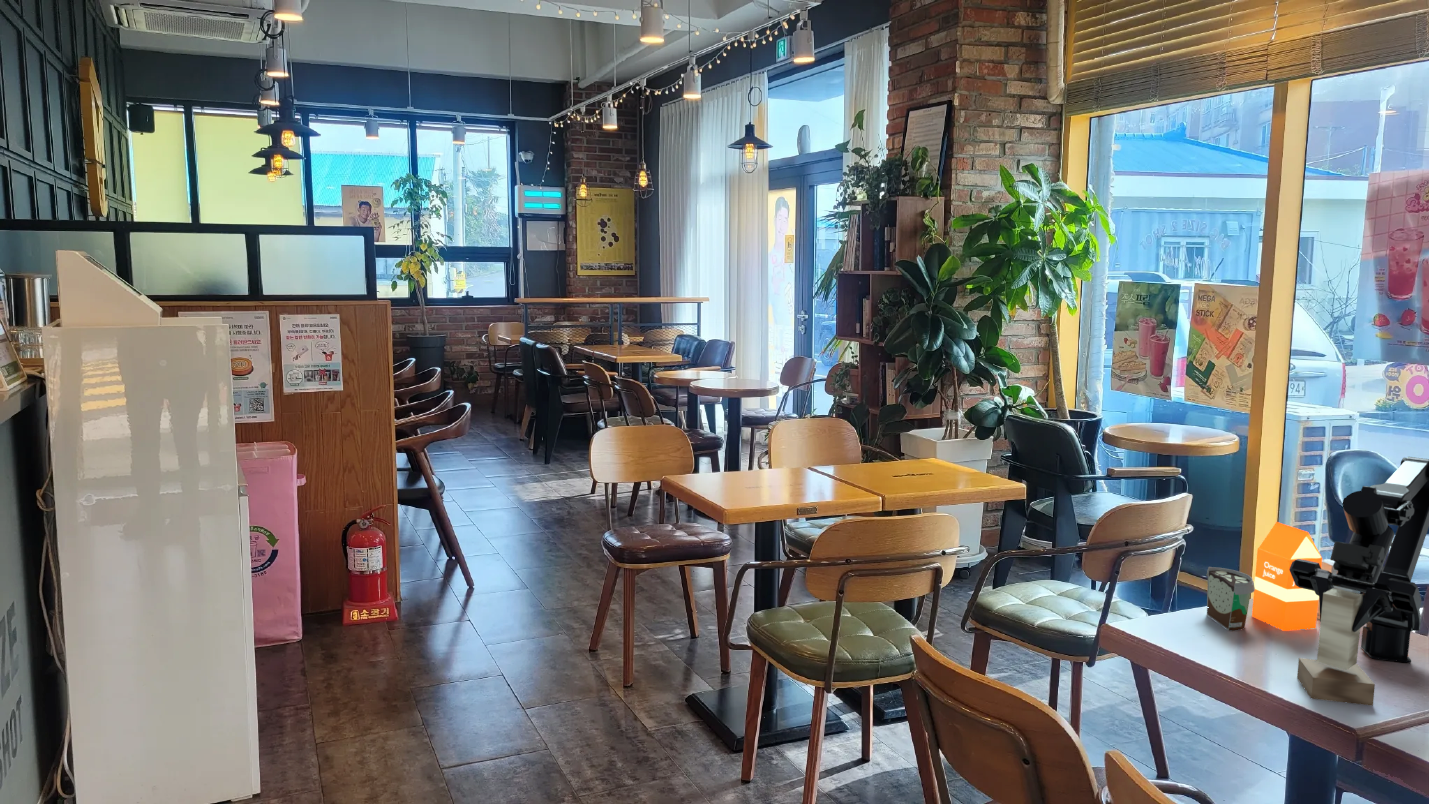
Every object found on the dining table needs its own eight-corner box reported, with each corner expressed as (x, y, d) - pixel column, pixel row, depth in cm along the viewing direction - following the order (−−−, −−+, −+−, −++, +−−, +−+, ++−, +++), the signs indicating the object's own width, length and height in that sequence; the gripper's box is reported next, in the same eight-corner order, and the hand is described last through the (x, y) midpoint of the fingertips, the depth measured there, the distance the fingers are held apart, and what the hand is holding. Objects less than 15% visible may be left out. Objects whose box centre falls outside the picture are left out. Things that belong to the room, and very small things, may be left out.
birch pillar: (1327, 655, 173) (1333, 587, 171) (1356, 663, 169) (1363, 594, 168) (1316, 661, 170) (1323, 593, 168) (1346, 669, 166) (1353, 600, 165)
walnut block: (1355, 686, 173) (1357, 664, 173) (1372, 707, 165) (1374, 684, 164) (1296, 679, 176) (1298, 658, 175) (1310, 700, 167) (1312, 677, 167)
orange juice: (1283, 631, 199) (1291, 533, 197) (1250, 616, 208) (1258, 522, 205) (1316, 628, 201) (1325, 531, 198) (1283, 614, 209) (1291, 520, 207)
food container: (1263, 634, 197) (1268, 585, 196) (1232, 633, 197) (1236, 584, 196) (1233, 613, 210) (1236, 566, 208) (1203, 612, 210) (1207, 566, 208)
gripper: (1298, 513, 176) (1266, 586, 171) (1423, 535, 162) (1393, 615, 156) (1311, 549, 182) (1281, 621, 177) (1433, 574, 168) (1405, 652, 162)
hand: (1337, 626), depth 168 cm, fingers closed on birch pillar, 4 cm apart
